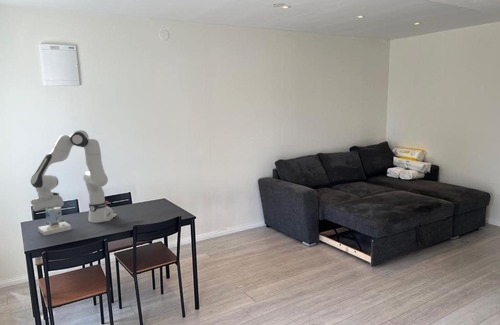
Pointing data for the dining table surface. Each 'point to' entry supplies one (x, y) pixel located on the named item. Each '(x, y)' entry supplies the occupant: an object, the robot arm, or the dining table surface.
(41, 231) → the switch panel
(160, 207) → the dining table surface
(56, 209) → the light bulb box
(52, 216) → the breaker lever
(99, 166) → the robot arm
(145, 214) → the dining table surface
